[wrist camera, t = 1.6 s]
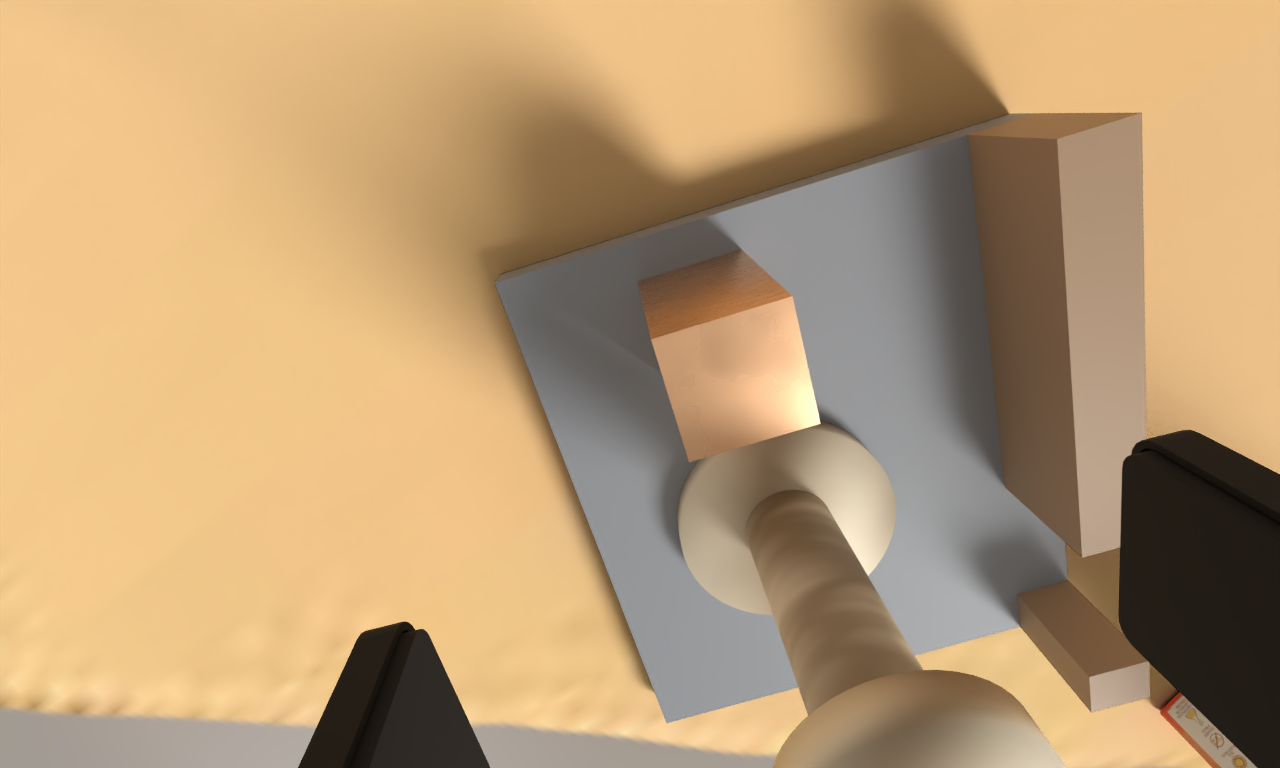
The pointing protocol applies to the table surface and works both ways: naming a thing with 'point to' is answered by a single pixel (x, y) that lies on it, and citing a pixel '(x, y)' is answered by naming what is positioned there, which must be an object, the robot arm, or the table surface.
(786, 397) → the copper block
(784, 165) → the table surface
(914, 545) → the grey board with ledge
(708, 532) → the bobbin
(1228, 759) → the cracker box
